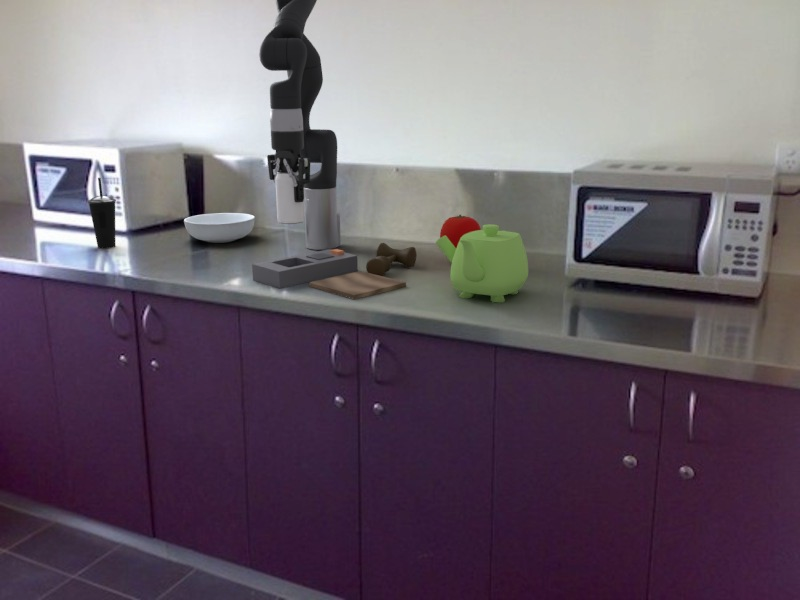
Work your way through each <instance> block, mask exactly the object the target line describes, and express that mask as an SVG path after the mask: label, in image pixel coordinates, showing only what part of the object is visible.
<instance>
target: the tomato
mask: <svg viewBox="0 0 800 600" xmlns="http://www.w3.org/2000/svg"><path fill="white" fill-rule="evenodd" d="M477 230H482V228H481V226H480V224H479V222H478V221H477V220H476V219H474V218H472V217H470V216H467V215H462V214H458V215H456V216H451V217H448V218H447V219H445V221H444V222H443V224H442V226H441V228H440V231H439V232H440V233H439V239H440V238H441V237H443V236H445V235H446V236H447V238H448V239H449V240H450V242H451V243H452V244H453V245H454V247H455V248H457V245H458V243H459V241H460V238H461V237H462V236H463V235H465V234H467V233H469V232H473V231H477Z"/></svg>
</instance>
